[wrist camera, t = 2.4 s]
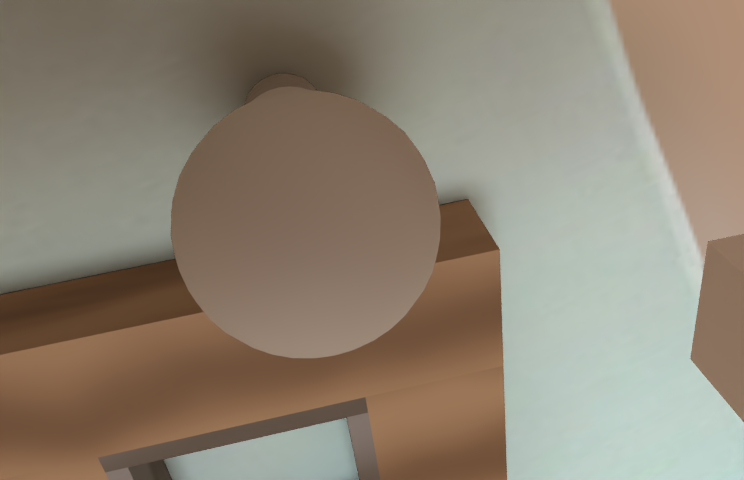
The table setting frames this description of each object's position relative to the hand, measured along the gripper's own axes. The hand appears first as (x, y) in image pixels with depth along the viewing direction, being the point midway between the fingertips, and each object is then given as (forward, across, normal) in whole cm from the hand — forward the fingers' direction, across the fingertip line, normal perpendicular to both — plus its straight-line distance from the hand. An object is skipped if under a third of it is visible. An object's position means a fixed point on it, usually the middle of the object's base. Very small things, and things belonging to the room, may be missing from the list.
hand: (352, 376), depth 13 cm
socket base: (+13, -4, -15) cm, 20 cm away
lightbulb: (+13, 0, 0) cm, 13 cm away
